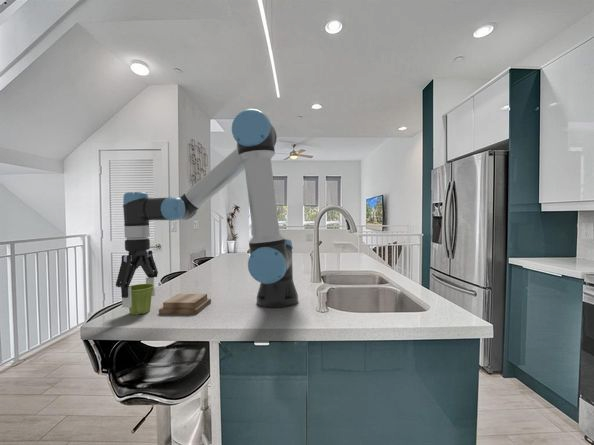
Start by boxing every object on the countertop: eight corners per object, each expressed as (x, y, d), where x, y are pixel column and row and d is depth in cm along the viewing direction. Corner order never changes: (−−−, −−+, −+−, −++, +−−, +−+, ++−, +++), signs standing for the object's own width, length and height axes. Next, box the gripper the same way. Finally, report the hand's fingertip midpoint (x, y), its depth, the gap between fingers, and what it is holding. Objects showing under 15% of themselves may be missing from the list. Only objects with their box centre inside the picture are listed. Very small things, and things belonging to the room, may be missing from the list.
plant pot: (142, 317, 101) (141, 290, 101) (117, 316, 103) (116, 289, 103) (161, 308, 111) (160, 284, 110) (137, 307, 112) (136, 283, 112)
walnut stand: (211, 302, 117) (210, 293, 116) (196, 314, 104) (196, 303, 104) (177, 302, 118) (176, 293, 118) (158, 313, 105) (158, 303, 105)
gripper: (147, 235, 119) (149, 291, 120) (100, 242, 94) (103, 312, 95) (166, 235, 118) (168, 291, 119) (124, 241, 93) (127, 312, 94)
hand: (139, 301), depth 107 cm, fingers open, 13 cm apart
